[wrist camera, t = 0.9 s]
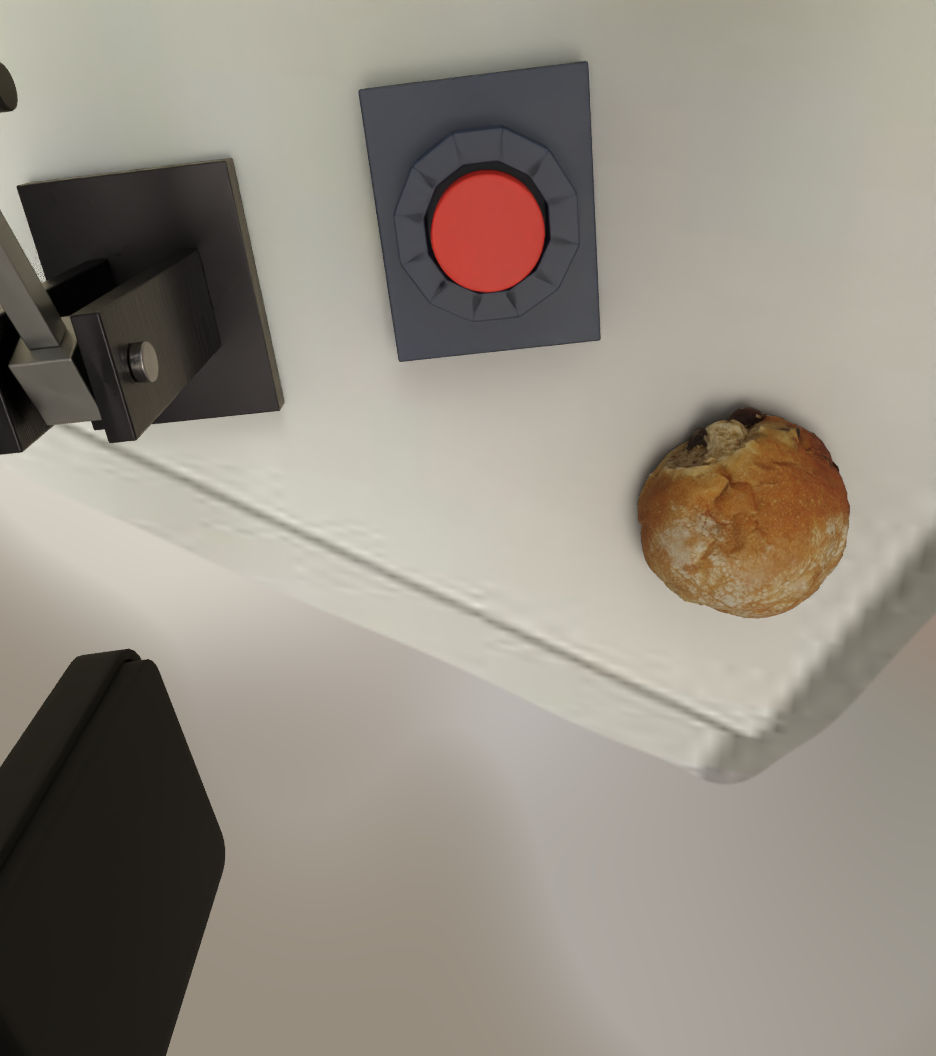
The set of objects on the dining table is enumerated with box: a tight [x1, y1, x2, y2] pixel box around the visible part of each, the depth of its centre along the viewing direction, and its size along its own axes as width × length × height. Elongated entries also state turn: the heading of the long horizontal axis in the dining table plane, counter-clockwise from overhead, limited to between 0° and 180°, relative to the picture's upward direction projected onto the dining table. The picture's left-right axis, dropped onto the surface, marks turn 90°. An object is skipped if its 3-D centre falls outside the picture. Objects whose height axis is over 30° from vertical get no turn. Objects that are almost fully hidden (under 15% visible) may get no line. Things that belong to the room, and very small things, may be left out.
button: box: [431, 170, 545, 292], centre depth 35 cm, size 4×4×2 cm
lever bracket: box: [0, 158, 284, 455], centre depth 35 cm, size 11×9×13 cm
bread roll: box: [637, 407, 850, 618], centre depth 44 cm, size 10×10×8 cm
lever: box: [0, 62, 102, 425], centre depth 28 cm, size 12×6×2 cm, turn 7°
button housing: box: [359, 61, 601, 362], centre depth 38 cm, size 11×9×4 cm
